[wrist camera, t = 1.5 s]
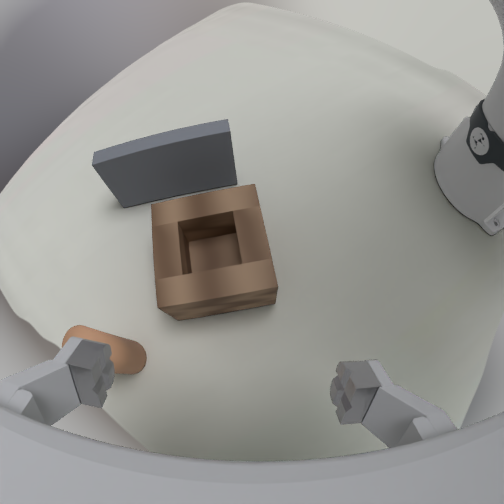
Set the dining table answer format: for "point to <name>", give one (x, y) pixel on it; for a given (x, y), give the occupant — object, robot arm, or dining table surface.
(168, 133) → the wall
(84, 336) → the dowel
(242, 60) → the dining table surface
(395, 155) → the dining table surface
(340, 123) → the dining table surface
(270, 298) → the socket block
